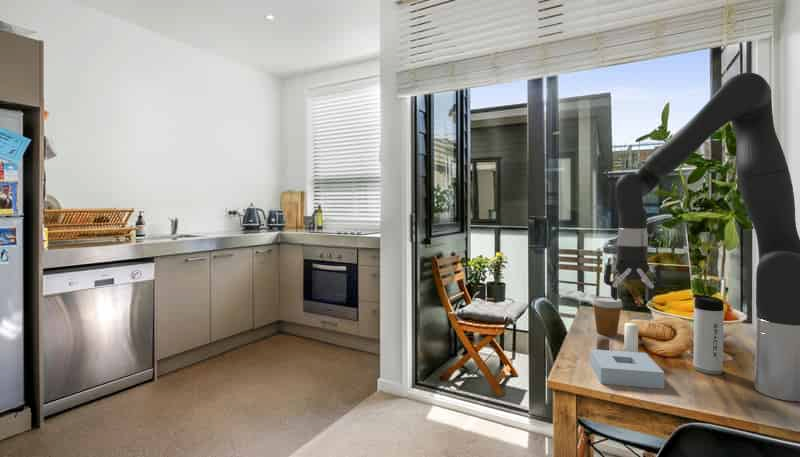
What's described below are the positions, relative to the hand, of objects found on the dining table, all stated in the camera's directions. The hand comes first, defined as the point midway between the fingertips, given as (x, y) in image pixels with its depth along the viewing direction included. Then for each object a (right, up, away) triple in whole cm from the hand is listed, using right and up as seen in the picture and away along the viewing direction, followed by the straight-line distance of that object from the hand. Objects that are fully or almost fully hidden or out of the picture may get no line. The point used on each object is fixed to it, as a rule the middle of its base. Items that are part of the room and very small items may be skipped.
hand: (631, 300), depth 119 cm
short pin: (-6, -17, +5) cm, 19 cm away
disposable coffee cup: (+5, -16, +25) cm, 30 cm away
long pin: (0, -17, +1) cm, 17 cm away
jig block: (-8, -18, -10) cm, 22 cm away
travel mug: (+15, -17, -8) cm, 25 cm away
